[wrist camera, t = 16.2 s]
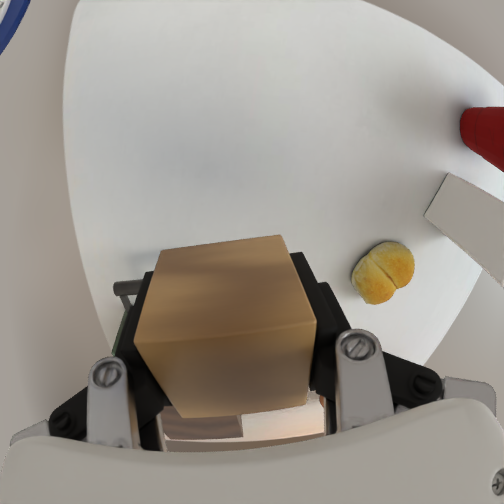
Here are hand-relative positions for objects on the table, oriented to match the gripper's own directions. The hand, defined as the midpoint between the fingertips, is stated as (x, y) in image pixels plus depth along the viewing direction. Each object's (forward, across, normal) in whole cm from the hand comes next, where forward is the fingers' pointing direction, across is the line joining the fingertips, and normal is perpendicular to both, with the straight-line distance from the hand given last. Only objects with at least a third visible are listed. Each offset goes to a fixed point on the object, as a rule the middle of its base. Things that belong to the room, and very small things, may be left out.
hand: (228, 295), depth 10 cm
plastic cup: (+18, -32, -6) cm, 37 cm away
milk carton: (+18, -29, +5) cm, 35 cm away
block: (0, 0, 0) cm, 0 cm away
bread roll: (+18, -18, +14) cm, 29 cm away
